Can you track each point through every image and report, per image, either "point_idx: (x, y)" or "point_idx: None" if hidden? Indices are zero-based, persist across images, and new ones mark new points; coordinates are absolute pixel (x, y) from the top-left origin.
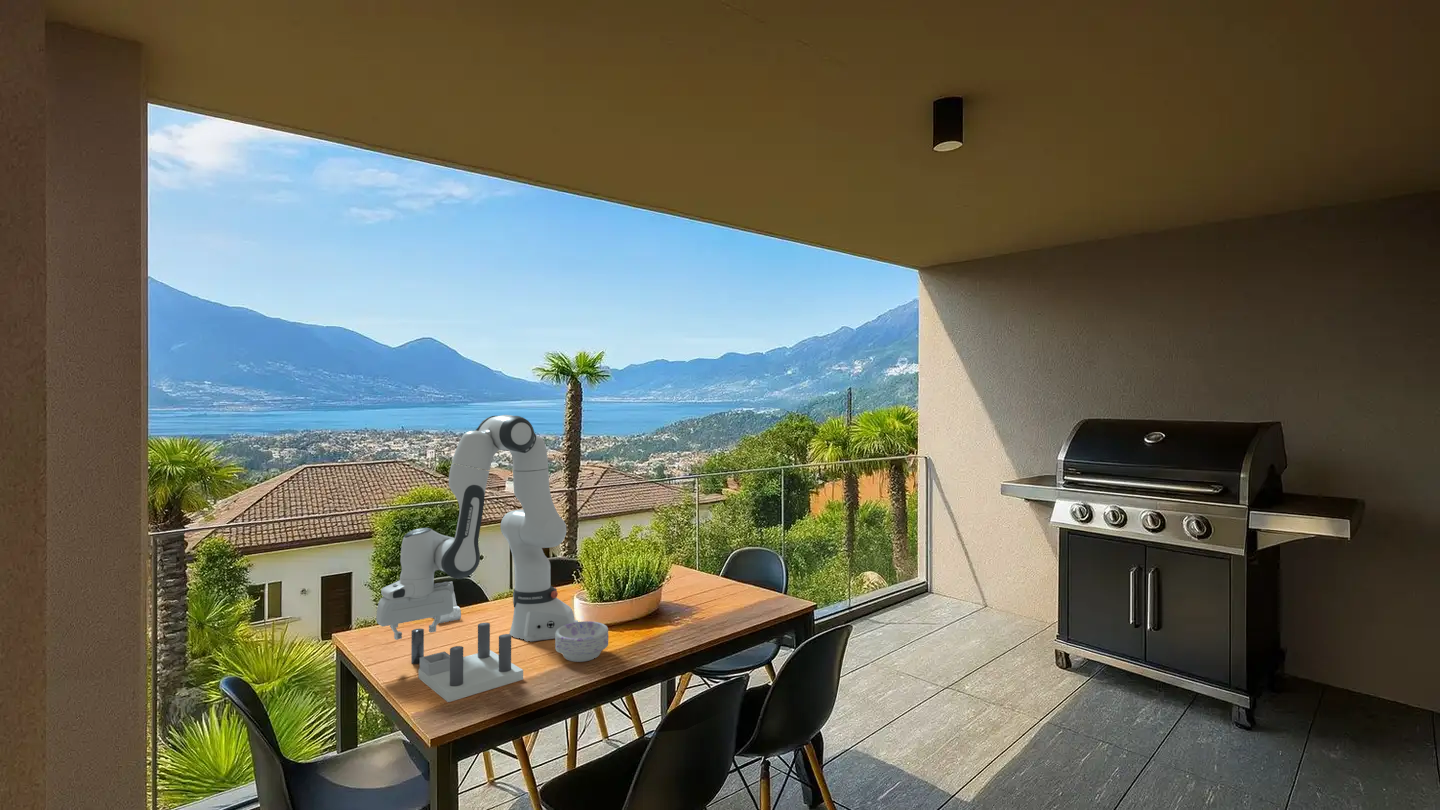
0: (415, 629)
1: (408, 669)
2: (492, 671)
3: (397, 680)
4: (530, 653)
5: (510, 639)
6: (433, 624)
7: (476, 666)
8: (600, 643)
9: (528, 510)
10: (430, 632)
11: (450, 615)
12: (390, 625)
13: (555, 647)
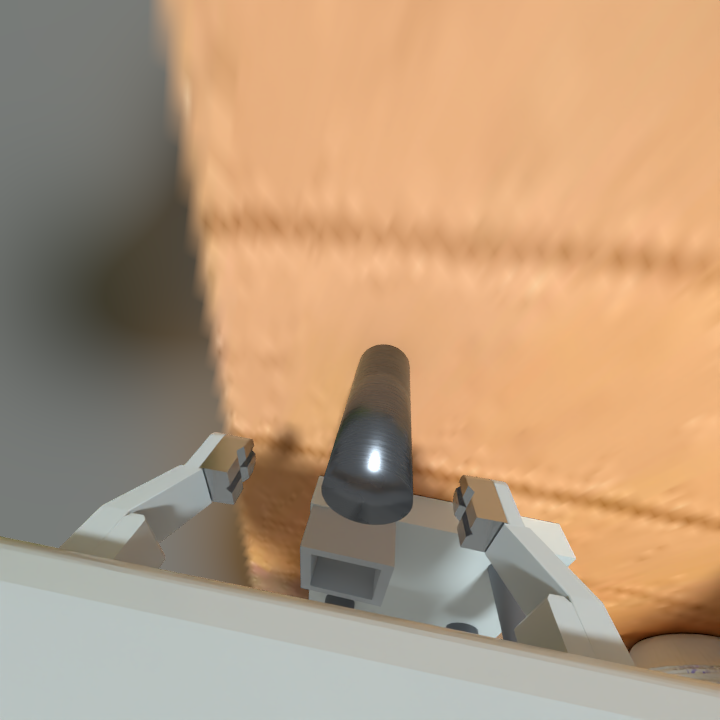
0: (364, 473)
1: (324, 402)
2: (436, 618)
3: (267, 446)
4: (661, 576)
5: None
6: (500, 549)
7: (434, 588)
8: None
9: None
10: (454, 493)
11: None
12: (89, 525)
13: (665, 672)
